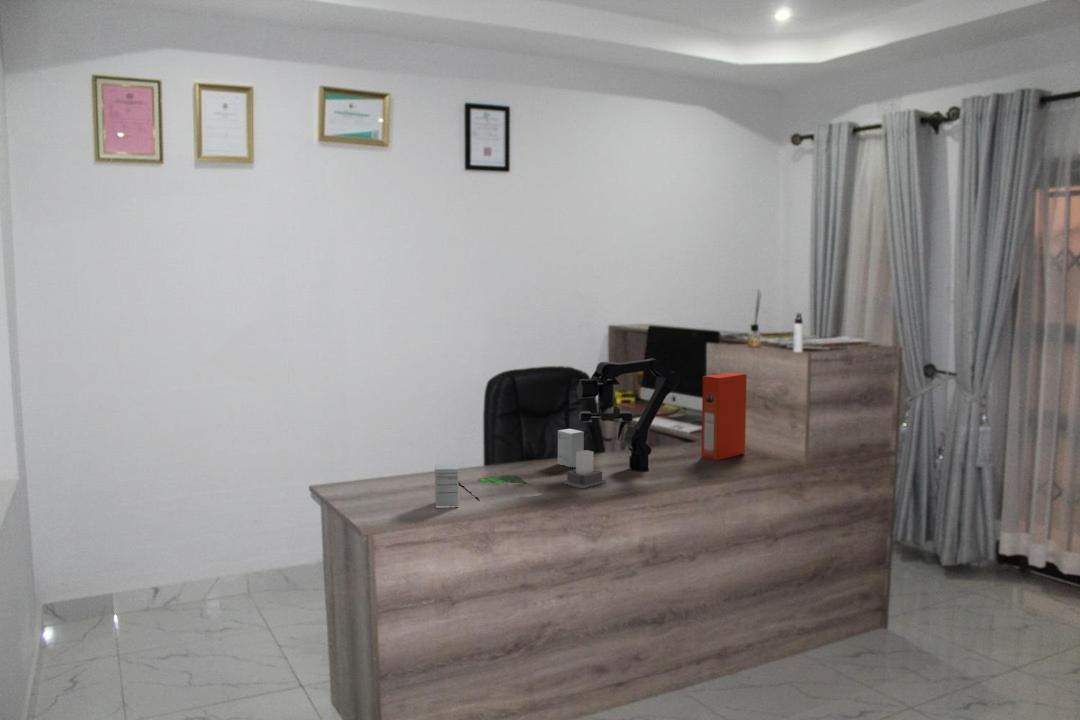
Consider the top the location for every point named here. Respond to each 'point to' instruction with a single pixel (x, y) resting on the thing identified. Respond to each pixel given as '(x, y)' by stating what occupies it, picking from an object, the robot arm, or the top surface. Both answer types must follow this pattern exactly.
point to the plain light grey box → (584, 462)
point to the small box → (569, 446)
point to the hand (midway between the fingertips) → (605, 439)
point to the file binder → (723, 415)
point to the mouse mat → (502, 480)
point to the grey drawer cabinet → (446, 485)
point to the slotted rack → (584, 479)
